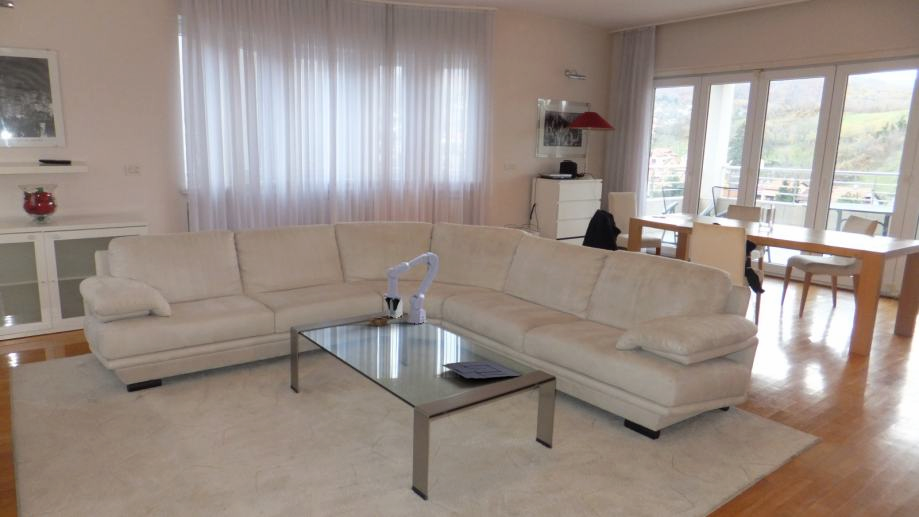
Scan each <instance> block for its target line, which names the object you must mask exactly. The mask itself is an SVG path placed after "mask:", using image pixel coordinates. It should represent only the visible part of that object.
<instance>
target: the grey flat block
mask: <svg viewBox="0 0 919 517" xmlns="http://www.w3.org/2000/svg"><path fill="white" fill-rule="evenodd" d="M441 366H442V367H444V368H446V369H448V370H451V371H453V372H455V373H456V374H459V375H460V376H462V377H464V378H465V379H470V378H471V379H472V378H473V379H489V378H500V377H508V376H509V377H516V376H521V374H520V373H518V372H515V371H513V370H510V369H508V368H505V367H503V366H501V365H499V364H497V363H496V362H493V361H490V360H486V361H485V360H482V361H481V360H477V361H459V362H458V361H456V362H450V363H446V364H441Z"/></svg>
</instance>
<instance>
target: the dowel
mask: <svg viewBox="0 0 919 517" xmlns="http://www.w3.org/2000/svg"><path fill="white" fill-rule="evenodd" d="M390 314H391V315H395V311H394V310H393V302H392V299H390Z"/></svg>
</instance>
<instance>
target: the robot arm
mask: <svg viewBox="0 0 919 517" xmlns="http://www.w3.org/2000/svg"><path fill="white" fill-rule="evenodd" d="M439 262H440V258H439V257H438V255H437V254H435V253H433V252H430V251H428V252H426V253H422V254H420V255H419V256H417V257H415V258H413V259H412V260H410V261H408V262H406V261H404V262H403V261H401V262H400V263H399V264H396V265H393V267H389V269H388V270H387V271H386V275H387V292H386V293H382V297H383V298H384V301H385V303H386V306H387V305H388V308H389V310H390V299H392V302H393V310H394V311H396V310H397V306H398V304H399V302H400V300H402V301H403V300H404V296H403V295H399V294H398V290H399V289H398V283H399V281H398V278H399V276H400V275H403V274H404V273H406V272H408V271H410V269H411V268H412V267H414V266H417V265H418V264H421V263H425V264H427V266H428V270H427V273H426V275H425V276H424V279H423V280H422V282H421V283H420V285H419V287H418V289H417V291H416V292H414V293H413V295H411V297H410V298H409V300H408V302H409V305H410V307H409V309H410V310H409V320H407V321H406V323H409V324H410V323H411V324H414V323H415V324H414V325H419V324H418V323H422V322H424V323H422V324H425V323H427V311H426V309H424V308H423V305H424V301H425V297H426V293H427V292H428V290H429V288H430V286H431V285H432V283H433V281H434V279H435V277H436V275H437V273H438V272H439ZM393 298H394V299H393Z"/></svg>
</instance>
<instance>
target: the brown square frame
mask: <svg viewBox="0 0 919 517" xmlns="http://www.w3.org/2000/svg"><path fill="white" fill-rule="evenodd" d="M368 322H369V324H370V326H374V327H384V326H386V325H388V317H384V316H383V317H382V316H375V317H371V318H369V321H368Z"/></svg>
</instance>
